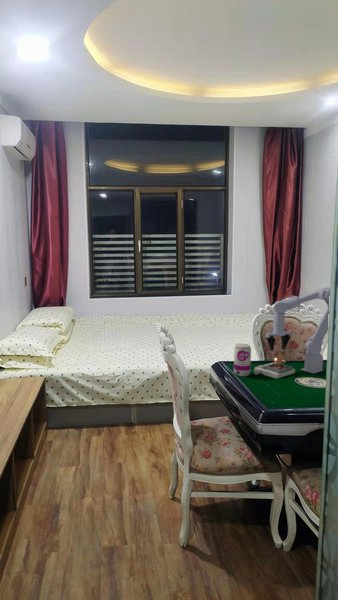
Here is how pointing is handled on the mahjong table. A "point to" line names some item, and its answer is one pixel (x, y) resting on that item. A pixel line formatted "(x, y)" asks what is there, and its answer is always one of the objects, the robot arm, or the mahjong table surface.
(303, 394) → the mahjong table surface
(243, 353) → the supplement can
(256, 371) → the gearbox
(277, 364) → the spout can
